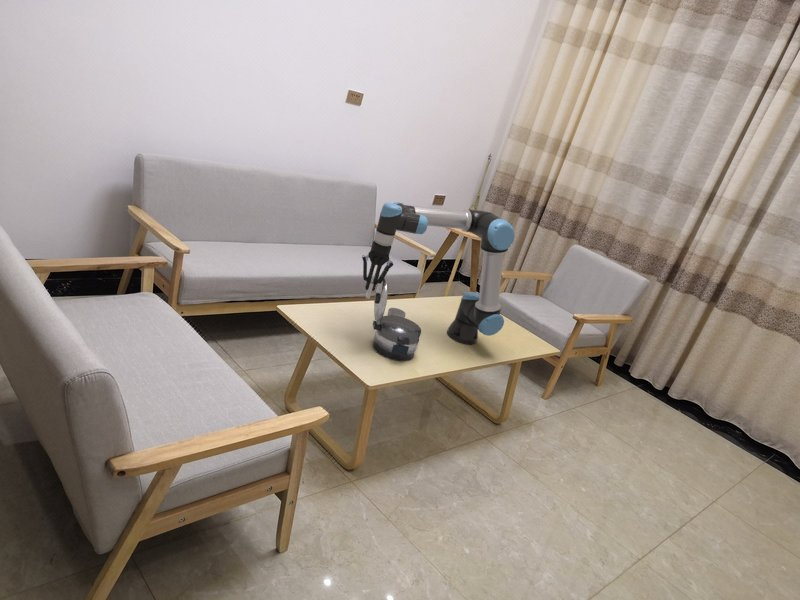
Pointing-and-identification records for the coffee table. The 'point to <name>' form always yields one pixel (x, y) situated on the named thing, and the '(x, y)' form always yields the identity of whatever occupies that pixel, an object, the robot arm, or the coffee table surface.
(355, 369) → the coffee table surface
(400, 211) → the robot arm
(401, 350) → the cooker
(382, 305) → the lid
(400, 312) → the cup
